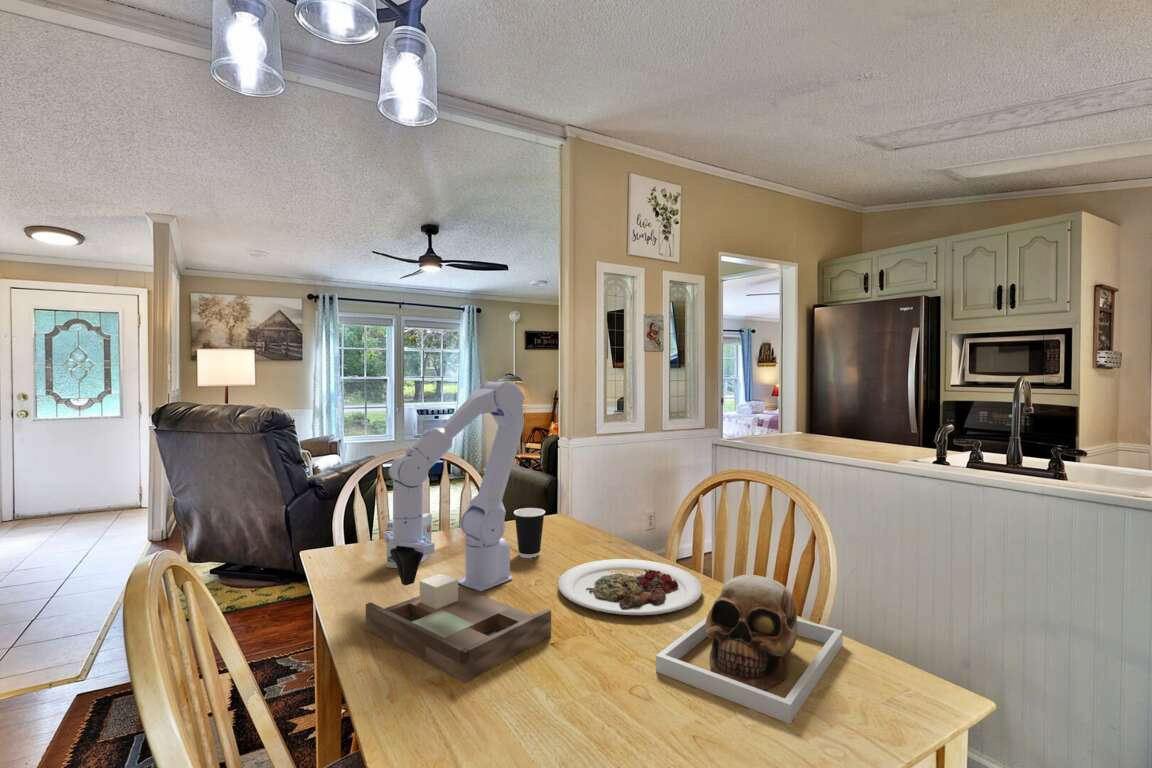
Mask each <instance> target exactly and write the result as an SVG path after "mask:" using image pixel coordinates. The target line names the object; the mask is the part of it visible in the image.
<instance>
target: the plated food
mask: <svg viewBox="0 0 1152 768" xmlns="http://www.w3.org/2000/svg"><path fill="white" fill-rule="evenodd" d="M622 569H623V570H639V571H645V572H646V573H644V572H643V574H639V575H638V573H637V574H636V575H637V576H635V577H634V575H633V574H634V573H632V574H630V573H628V575H627V574H625V573H616V574H615V572H613V573H611V570H622ZM608 571H610V572H608ZM640 573H641V572H640ZM557 585H558V588H559V592H560V593H561V594H562V595H563V596H564V597H565V598H566V599H568V600H570V602H573V603H575V604H576V605H579V606H582V607H584V608H587V609H590V610H592V611H593V610H594V611H597V612H603V613H606V614H608V613H609V614H616V615H627V616H628V615H629V616H646V615H647V616H648V615H659V614H665V613H670V612H675V611H678V610H682V609H684V608H687V607H689V606H692V605H693V604H695V602H697V601H699V599H700V597H701V596H702V594H703V586H702V584H701V582H700V580H699V579H698V578H696V576H694V575H693V574H691V573H690V572H688V571H686V570H683V569H682V568H678V567H676V566H673V565H669V564H666V563H662V562H658V561H652V560H645V559H635V558H633V559H632V558H631V559H630V558H628V559H627V558H616V559H615V558H613V559H602V560H595V561H590V562H584V563H581V564H578V565H576V566H574V567H571V568H569V569H567V570H565V572H563V573H562V575H561V576H560V577H559V579H558V582H557Z"/></svg>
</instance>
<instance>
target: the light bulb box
mask: <svg viewBox="0 0 1152 768" xmlns="http://www.w3.org/2000/svg"><path fill="white" fill-rule="evenodd" d="M432 517H433V516H432V513H425V512H423V536H424V537H425V538H427V539H428V540H429V541H430V542H432V520H433V519H432ZM385 524H386V531H391V530H393V519H392V520H388V521H387V522H386V523H385ZM394 548H396V546H390V545H388V542H386V568H391V569H398V568H397V565H396V563H395V560H394V558H393V557H392V555H391V554H390V550H391V549H394ZM431 557H432V554H430V555H427V556H425V555H423V557H422V559H421V561H420V564H422V563H423V562H424V561H426V560H427V559H429V558H431Z"/></svg>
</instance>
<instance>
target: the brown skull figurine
mask: <svg viewBox="0 0 1152 768" xmlns="http://www.w3.org/2000/svg"><path fill="white" fill-rule="evenodd" d="M706 617H707V619H706V630H705V631H706V634H707V638H709V639H712V642H711V649H710V654H709V667H710V668H709V669H710V671H711V672H714V673H716V674H719V675H722V676H725V677H727V678H730V679H733V680H735V681H738V682H741V683H744V684H746V685H749V686H752V687H755V688H757V689H760V690H763V691H767V690H768V689H770V688H771V687H772V686H776V685H778V684H780V682H781V681H785V680H786V678H787V677H788V674H789V671H790V663H791V662H790V661H791V652H792V650H793V649H794V647H795V645H796V641H797V636H798V635H797V625H798V624H797V618H798V614H797V606H796V602H795V599H794V596H793V594H792V593H791V592H790V590H789V589H788V588H787V587H786V586H785V585H784V584H782V583H781V582H779V581H777V580H775V579H772V578H770V577H769V578H768V577H766V576H762V575H755V574H742V575H741V574H740V575H738V576H735V577H733V578H730V579H728V580H726V582H725V583H724V584H723V586H722V589H721V591H720V594H719V596H718V597H717V598H716V599H715V601H714V602H713V604H712V607H711V609H710V610H709V611H708V614H707V616H706Z"/></svg>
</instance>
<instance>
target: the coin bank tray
mask: <svg viewBox="0 0 1152 768" xmlns="http://www.w3.org/2000/svg"><path fill="white" fill-rule="evenodd" d="M706 619H707V616H706V617H705V618H703V619H701V620H700V622H698V623H696V624H695V625H694V626H693V627H691V628H690V629H689V630H687V631H686V632H685V633H684V634H682V635H681V636H680V637H678V638H677V639H676V640H674V641H673V642H672V643H670V644H668V646H666V647H665V648H663V649H662V650H661V651H660V652H659V653H657V654H656V655H655V672H656V673H658V674H661V675H664V676H666V677H669V678H672V679H674V680H676V681H679V682H681V683H684V684H687V685H689V686H692V687H694V688H696V689H699V690H702V691H705V692H707V693H710V694H711V695H715V696H718V697H720V698H722V699H725V700H727V701H730V702H733V703H735V704H738V705H741V706H743V707H745V708H749V709H751V710H754V711H756V712H759V713H760V714H763V715H766V716H769V717H771V718H774V719H776V720H779V721H781V722H783V723H787V724H788V725H791V724H792V722H793V720H794V719H795V717H796V716H797V714H798V713H799V712H800V710H801V709H802V707H803V706H804V705H805V702H806V701H807V699H808V698H809V697H810V695H811V694H812V692H813V691H814V689H815V687H817V684H818V683H819V681H820V680H821V678H822V677H823V675H824V674H825V672H826V671H827V669H828V668H829V667H830V665H831V663H832V662H833V661H834V659H835V657H836V656H837V654H839V651H840V650H841V649H842V646H843V630H841V629H838V628H834V627H831V626H827V625H824V624H819V623H816V622H812V621H808V620H804V619H802V618H798V617H797V624H798V625H797V636H799V637H802V638H806V639H809V640H813V641H816V642H820V643H823V644H824V645H823V646H822V648H821V649H820V650H819V652H818V653H817V654H816V656H815V657H814V659H813V660H812V661H811V662H810V664H809V665H808V666H807V668H806V669H805V671H804V672H803V673H802V675H801V676H800V677H799V679H798V680H797V681H796V683H795V685H793V687H792V688H791V690H790V691H789V692H788V694H787V695H786V697H785V698H784V697H781V696H779V695H777V694H773V693H771V692H768V691H767V690H764V691H763V690H760V689H757V688H755V687H752V686H749V685H746V684H744V683H741V682H738V681H735V680H733V679H730V678H727V677H725V676H722V675H719V674H716V673H714V672H711V670H708V669H705V668H702V667H699V666H697V665H694V664H691V663H688V662H686V661H683V660H681V659H682V657H684V656H686V654H687V653H689V652H690V651H691V650H692V649H693V648H695V647H696V646H697V645H699V644H700V643H701V642H702V641H703V640H705V639H706V638H708V636H707V634H706V631H705V630H706Z"/></svg>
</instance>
